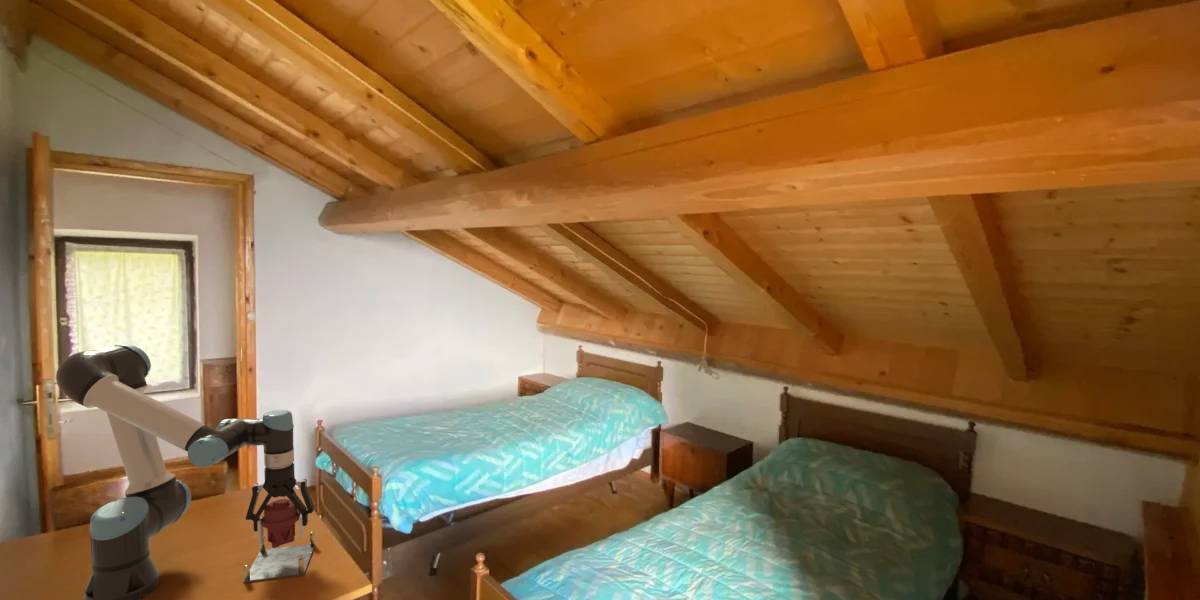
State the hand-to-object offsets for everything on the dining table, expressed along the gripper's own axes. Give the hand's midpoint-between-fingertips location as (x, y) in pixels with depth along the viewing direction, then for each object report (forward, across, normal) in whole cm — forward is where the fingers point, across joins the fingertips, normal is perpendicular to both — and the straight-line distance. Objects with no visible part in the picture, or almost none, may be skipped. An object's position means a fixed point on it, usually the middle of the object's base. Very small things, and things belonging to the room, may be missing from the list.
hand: (281, 538), depth 165 cm
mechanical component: (+1, 0, 0) cm, 1 cm away
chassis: (+7, 0, 0) cm, 7 cm away
